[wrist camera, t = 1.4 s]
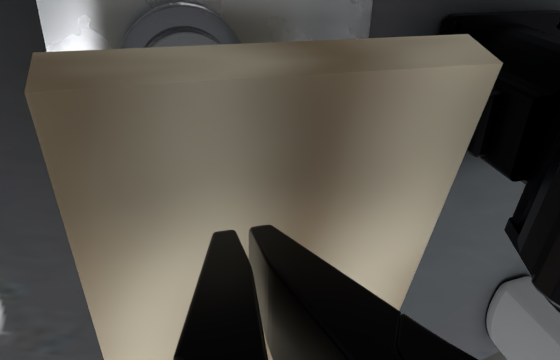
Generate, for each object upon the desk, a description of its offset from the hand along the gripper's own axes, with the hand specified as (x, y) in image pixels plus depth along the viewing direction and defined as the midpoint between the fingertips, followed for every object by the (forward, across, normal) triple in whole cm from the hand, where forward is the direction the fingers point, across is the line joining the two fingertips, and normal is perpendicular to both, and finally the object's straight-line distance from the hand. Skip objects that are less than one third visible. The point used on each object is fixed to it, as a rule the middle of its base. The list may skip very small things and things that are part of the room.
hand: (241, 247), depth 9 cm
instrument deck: (+6, -2, +8) cm, 10 cm away
